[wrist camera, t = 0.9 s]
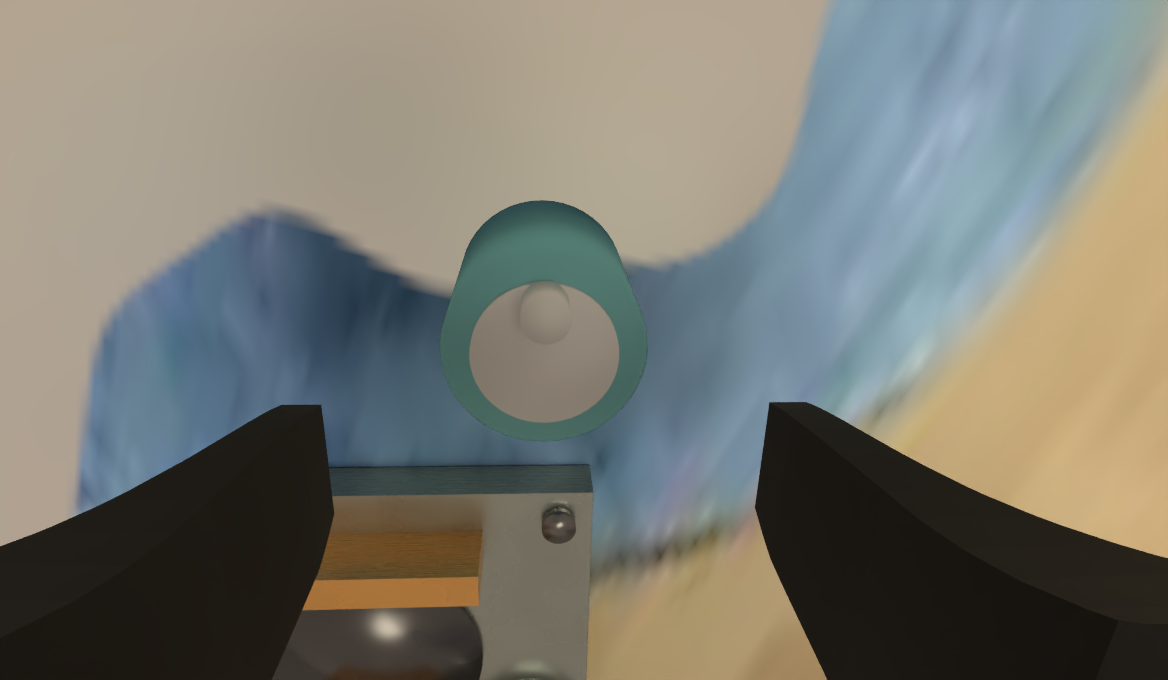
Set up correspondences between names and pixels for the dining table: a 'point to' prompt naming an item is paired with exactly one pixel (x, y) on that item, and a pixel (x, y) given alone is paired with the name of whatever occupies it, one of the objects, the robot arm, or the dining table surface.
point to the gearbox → (450, 577)
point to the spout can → (543, 325)
